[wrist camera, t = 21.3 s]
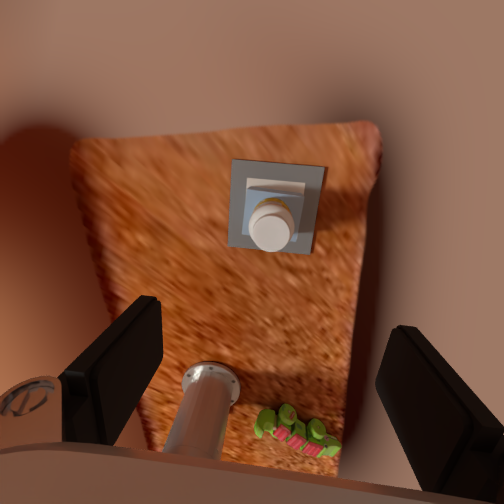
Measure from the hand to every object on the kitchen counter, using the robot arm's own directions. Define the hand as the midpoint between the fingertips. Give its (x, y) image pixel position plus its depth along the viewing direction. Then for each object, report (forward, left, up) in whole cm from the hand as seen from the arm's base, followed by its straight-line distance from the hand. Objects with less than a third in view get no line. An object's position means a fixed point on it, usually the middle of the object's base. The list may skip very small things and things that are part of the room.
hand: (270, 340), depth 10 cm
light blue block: (0, 0, -32) cm, 32 cm away
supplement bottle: (0, 0, -27) cm, 27 cm away
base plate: (0, 0, -32) cm, 32 cm away
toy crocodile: (-47, -10, -33) cm, 58 cm away
